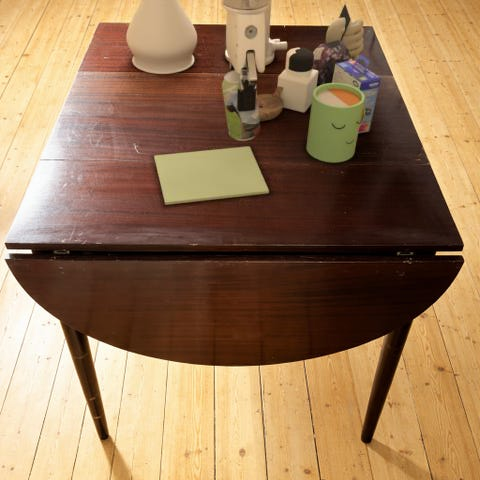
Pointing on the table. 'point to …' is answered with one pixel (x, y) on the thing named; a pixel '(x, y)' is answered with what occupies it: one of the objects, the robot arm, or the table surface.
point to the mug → (335, 121)
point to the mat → (209, 175)
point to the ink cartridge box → (359, 85)
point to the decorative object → (347, 33)
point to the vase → (161, 37)
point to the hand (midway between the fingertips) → (241, 99)
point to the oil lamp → (270, 105)
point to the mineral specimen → (329, 59)
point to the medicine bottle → (298, 80)
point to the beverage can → (238, 122)
